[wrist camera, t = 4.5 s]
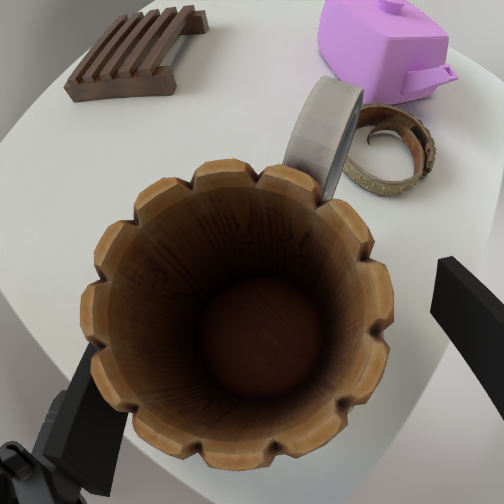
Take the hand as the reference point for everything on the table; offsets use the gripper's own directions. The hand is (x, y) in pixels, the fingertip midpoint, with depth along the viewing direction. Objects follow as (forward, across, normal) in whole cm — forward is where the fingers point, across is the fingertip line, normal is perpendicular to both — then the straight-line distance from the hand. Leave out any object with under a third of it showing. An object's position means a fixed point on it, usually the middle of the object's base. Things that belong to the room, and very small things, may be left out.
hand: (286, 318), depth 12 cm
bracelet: (+16, +11, +2) cm, 20 cm away
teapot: (+24, +15, +10) cm, 30 cm away
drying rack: (+31, -11, +17) cm, 37 cm away
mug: (+9, 0, -6) cm, 10 cm away
